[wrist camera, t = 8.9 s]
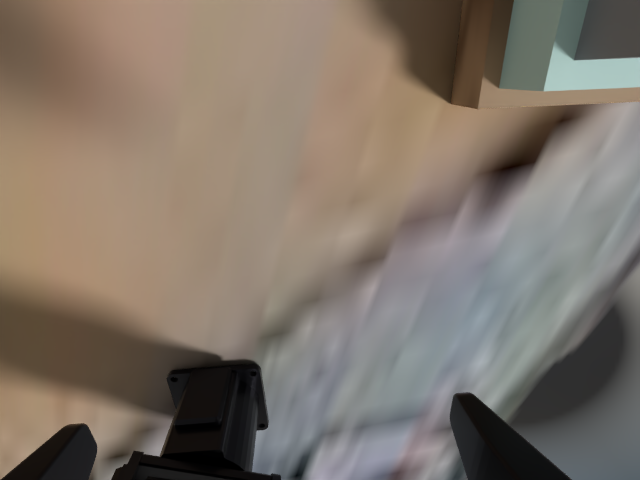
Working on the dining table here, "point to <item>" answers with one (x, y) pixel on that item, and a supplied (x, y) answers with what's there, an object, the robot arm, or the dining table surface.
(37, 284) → the dining table surface
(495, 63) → the tan flat block
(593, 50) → the charcoal block
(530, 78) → the teal slab
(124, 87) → the dining table surface
